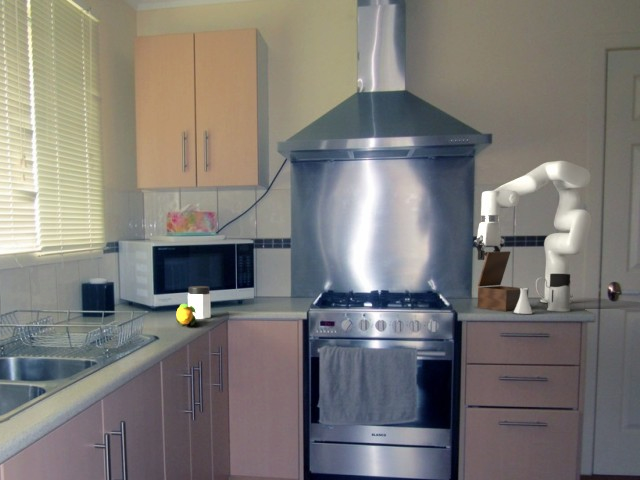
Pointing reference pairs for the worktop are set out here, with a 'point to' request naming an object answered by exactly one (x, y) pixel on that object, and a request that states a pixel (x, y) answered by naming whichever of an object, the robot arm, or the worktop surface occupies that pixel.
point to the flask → (523, 303)
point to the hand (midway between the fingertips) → (488, 259)
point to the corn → (185, 314)
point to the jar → (200, 301)
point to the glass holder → (558, 292)
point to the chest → (498, 297)
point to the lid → (493, 268)
